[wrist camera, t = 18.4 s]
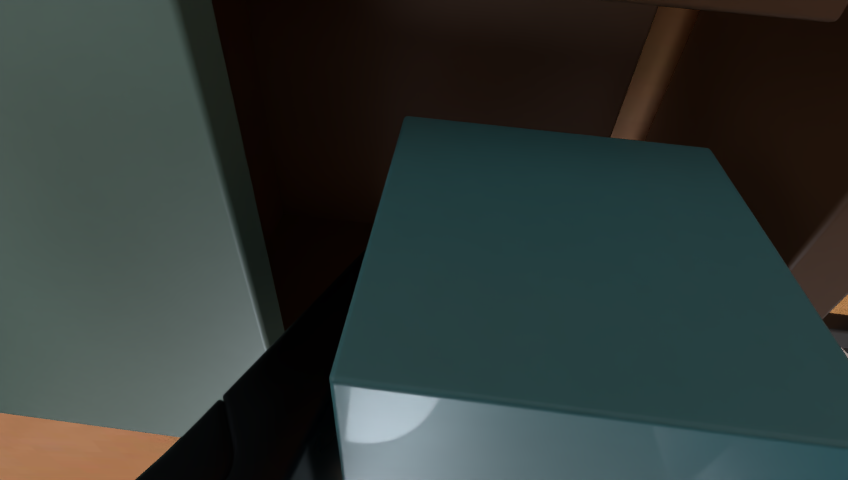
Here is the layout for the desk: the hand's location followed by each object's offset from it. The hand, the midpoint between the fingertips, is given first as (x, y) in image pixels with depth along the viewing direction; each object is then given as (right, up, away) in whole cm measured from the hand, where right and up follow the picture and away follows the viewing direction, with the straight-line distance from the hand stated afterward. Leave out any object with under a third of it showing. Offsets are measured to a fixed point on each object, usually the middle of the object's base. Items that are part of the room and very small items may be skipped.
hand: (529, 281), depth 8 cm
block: (0, +1, +1) cm, 1 cm away
